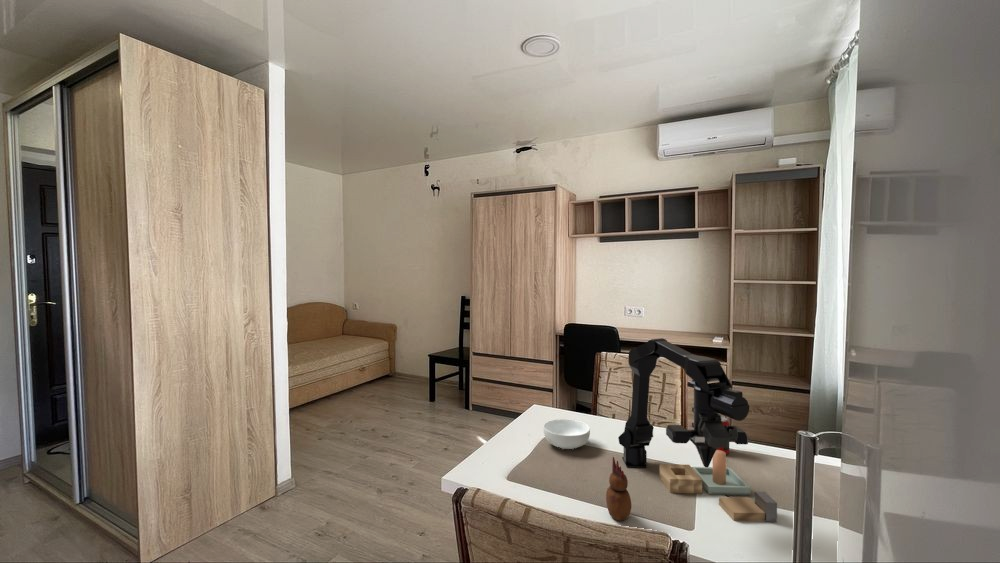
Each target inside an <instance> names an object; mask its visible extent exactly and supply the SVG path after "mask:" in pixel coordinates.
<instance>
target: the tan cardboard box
mask: <svg viewBox="0 0 1000 563" xmlns="http://www.w3.org/2000/svg"><path fill="white" fill-rule="evenodd" d="M718 505H719V507H721V509H722V510H723V511H724V512H725V514H726V515H727V516H728V517H730V519H731V520H732V521H733V522H739V521H740V522H749V521H751V522H753V521H754V522H766V521H765V512H764V511H763V510H762V509H760V508H759V507H758V506H757V505H756V504H755V501H753V500H752V499H751V498H750V497H747V496H746V497H744V496H743V497H742V496H741V497H740V496H737V497H736V496H735V497H734V496H732V497H731V496H725V497H724V496H719V497H718Z"/></svg>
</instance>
